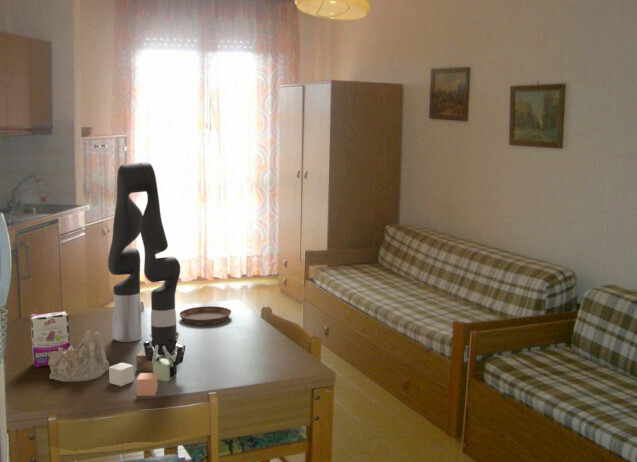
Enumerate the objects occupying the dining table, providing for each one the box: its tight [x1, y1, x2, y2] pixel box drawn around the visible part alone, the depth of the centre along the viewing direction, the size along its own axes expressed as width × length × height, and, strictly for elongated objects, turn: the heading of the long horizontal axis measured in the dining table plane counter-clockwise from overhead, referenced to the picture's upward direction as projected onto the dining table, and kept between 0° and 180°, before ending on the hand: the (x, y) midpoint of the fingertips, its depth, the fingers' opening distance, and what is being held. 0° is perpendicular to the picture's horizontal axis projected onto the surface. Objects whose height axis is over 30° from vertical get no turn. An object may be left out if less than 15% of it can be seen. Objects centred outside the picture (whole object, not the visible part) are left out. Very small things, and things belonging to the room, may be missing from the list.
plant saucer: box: [179, 305, 232, 326], centre depth 267 cm, size 21×21×3 cm
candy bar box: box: [29, 311, 71, 368], centre depth 214 cm, size 11×5×16 cm, turn 117°
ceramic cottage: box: [48, 330, 111, 383], centre depth 206 cm, size 16×16×15 cm
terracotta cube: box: [136, 372, 159, 397], centre depth 192 cm, size 5×5×5 cm
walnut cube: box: [135, 350, 154, 372], centre depth 211 cm, size 5×5×5 cm
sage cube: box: [152, 358, 177, 382], centre depth 203 cm, size 5×5×5 cm
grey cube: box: [108, 362, 135, 387], centre depth 199 cm, size 5×5×5 cm
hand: (164, 375), depth 204 cm, fingers closed on sage cube, 5 cm apart
